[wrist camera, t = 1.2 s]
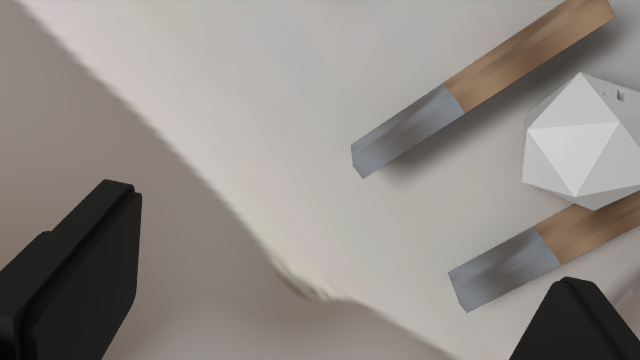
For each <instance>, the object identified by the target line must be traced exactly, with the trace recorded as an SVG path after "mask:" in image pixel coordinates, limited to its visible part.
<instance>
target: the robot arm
mask: <svg viewBox="0 0 640 360" xmlns="http://www.w3.org/2000/svg"><path fill="white" fill-rule="evenodd" d="M141 209H142V195H141V194H140V193H136V192H135V189H134V186H133V185H131V184H126V183H122V182H117V181H112V180H107V179H105V180H103V181H102V182H101V183H100V184H99V185H98V186H97V187H96V188H95V189H94V190H93V191H92V192H91V193H90V194H88V196H86V197H85V198H84V200H82V201H81V202H80V203H79V204H78V205H77V206H76V207H75V208H74V209H73V210H72V211H71V212H70V213H69V214H68V215H67V216H66V217H65V218H64V219H63V220H62V221H61V222H60V223H59V224H58V225H57V226H56V227H55V228H54V229H53V230H52V231H45V232H42V233H41V234H40V235H38V236H37V237H36V238H35V239H34V240H33V241H32V242H31V243H30V244H29V245H27V246H26V247H25V248H24V249H23V250H22V251H21V252H20V253H19V254H18V255H17V256H16V257H15V258H14V259H13V260H12V261H11V262H10V263H9V264H8V265H7V266H6V267H4V268H3V269H2V270H1V271H0V360H101V359H102V357H103V355H104V354H105V352H106V350H107V348H108V347H109V345H110V343H111V342H112V340H113V338H114V336H115V334H116V333H117V331H118V329H119V327H120V326H121V324H122V322H123V321H124V319H125V317H126V315H127V313H128V312H129V310H130V308H131V306H132V304H133V301H134V298H135V295H136V287H137V270H138V256H139V241H140V225H141ZM509 360H640V341H639V339H638V338H637V337H636V336H635V334H634V333H633V332H632V330H631V329H630V328H629V327H628V325H627V324H626V323H625V321H624V320H623V319H622V318H621V316H620V315H619V314H618V312H617V311H616V310H615V309H614V307H613V306H612V305H611V303H610V302H609V301H608V300H607V298H606V297H605V296H604V294H603V293H602V292H601V291H600V289H599V288H598V287H597V285H595V284H594V283H593V282H590V281H586V280H581V279H577V278H572V277H564V278H562V279H561V280H560V281H556V282H554V283H553V284H552V285H551V287H550V289H549V290H548V292H547V294H546V296H545V297H544V299H543V301H542V303H541V304H540V306H539V308H538V310H537V311H536V313H535V315H534V317H533V318H532V320H531V322H530V324H529V325H528V327H527V329H526V331H525V333H524V334H523V336H522V338H521V340H520V341H519V343H518V345H517V347H516V348H515V350H514V352H513V354H512V355H511V357H510V359H509Z"/></svg>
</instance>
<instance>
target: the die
mask: <svg viewBox="0 0 640 360" xmlns="http://www.w3.org/2000/svg"><path fill="white" fill-rule="evenodd" d="M521 182H523V183H525V184H528V185H530V186H533V187H535V188H538V189H540V190H543V191H545V192H548V193H550V194H553V195H555V196H558V197H560V198H563V199H565V200H568V201H570V202H573V203H575V204H578V205H580V206H583V207H585V208H588V209H590V210H593V211H594V210H597V209H599V208H601V207H603V206H606V205H608V204H610V203H612V202H615V201H617V200H619V199H621V198H623V197H626V196H628V195H630V194H632V193H635V192H637V191H639V190H640V92H637V91H634V90H631V89H628V88H625V87H622V86H619V85H616V84H613V83H610V82H607V81H604V80H601V79H598V78H595V77H592V76H590V75H587V74H584V73H581V72H579V73H578V74H577V75H575V76H574V77H573V78H572V79H570V80H569V81H568V82H566V83H565V84H564V85H563V86H561V87H560V88H559V89H557V90H556V91H555V92H554V93H552V94H551V95H550V96H549V97H547V98H546V99H545V100H543V101H542V102H541V103H540V104H538V105H537V106H536V107H535V108H533V109H532V110H531V111H529V112H528V113H527V114H526V115H525V129H524V146H523V163H522V180H521Z"/></svg>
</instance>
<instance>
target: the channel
mask: <svg viewBox="0 0 640 360" xmlns="http://www.w3.org/2000/svg"><path fill="white" fill-rule="evenodd" d="M614 17H615V15H614V13H613V10H612V8H611V6H610V4H609V2H608V0H566V1H564V2H563V3H561V4H560V5H558V6H557V7H556V8H554V9H553V10H551V11H550V12H548V13H547V14H545V15H544V16H542V17H541V18H539V19H538V20H536V21H535V22H533V23H532V24H530V25H529V26H527V27H526V28H524V29H523V30H521V31H520V32H518V33H517V34H515V35H514V36H512V37H511V38H509V39H508V40H506V41H505V42H504V43H502V44H501V45H499V46H498V47H496V48H495V49H493V50H492V51H490V52H489V53H487V54H486V55H484V56H483V57H481V58H480V59H478V60H477V61H475V62H474V63H472V64H471V65H469V66H468V67H466V68H465V69H463V70H462V71H460V72H459V73H457V74H456V75H454V76H453V77H451V78H450V79H449V80H447V81H446V82H444V83H443V84H441V85H440V86H438V87H437V88H435V89H434V90H432V91H431V92H429V93H428V94H426V95H425V96H423V97H422V98H420V99H419V100H417V101H416V102H414V103H413V104H411V105H410V106H408V107H407V108H405V109H404V110H402V111H401V112H399V113H398V114H397V115H395V116H394V117H392V118H391V119H389V120H388V121H386V122H385V123H383V124H382V125H380V126H379V127H377V128H376V129H374V130H373V131H371V132H370V133H368V134H367V135H365V136H364V137H362V138H361V139H359V140H358V141H356V142H355V143H353V144H352V145H351V151H352V160H353V167H354V168H355V169H356V171H357V172H358V173H359V174H360V176H361V177H362V178H363V179H364V178H365V177H367V176H369V175H370V174H372V173H373V172H375V171H376V170H378V169H379V168H381V167H383V166H384V165H386V164H387V163H389V162H390V161H392V160H393V159H395V158H397V157H398V156H400V155H401V154H403V153H404V152H406V151H407V150H409V149H410V148H412V147H414V146H415V145H417V144H418V143H420V142H421V141H423V140H424V139H426V138H428V137H429V136H431V135H432V134H434V133H435V132H437V131H438V130H440V129H442V128H443V127H445V126H446V125H448V124H449V123H451V122H452V121H454V120H456V119H457V118H459V117H460V116H462V115H463V114H465V113H466V112H468V111H470V110H471V109H473V108H474V107H476V106H477V105H479V104H480V103H482V102H484V101H485V100H487V99H488V98H490V97H491V96H493V95H494V94H496V93H498V92H499V91H501V90H502V89H504V88H505V87H507V86H508V85H510V84H512V83H513V82H515V81H516V80H518V79H519V78H521V77H522V76H524V75H526V74H527V73H529V72H530V71H532V70H533V69H535V68H536V67H538V66H540V65H541V64H543V63H544V62H546V61H547V60H549V59H550V58H552V57H554V56H555V55H557V54H558V53H560V52H561V51H563V50H564V49H566V48H568V47H569V46H571V45H572V44H574V43H575V42H577V41H578V40H580V39H582V38H583V37H585V36H586V35H588V34H589V33H591V32H592V31H594V30H596V29H597V28H599V27H600V26H602V25H603V24H605V23H606V22H608V21H610V20H611V19H613V18H614ZM639 225H640V190H639V191H637V192H635V193H632V194H630V195H628V196H626V197H623V198H621V199H619V200H617V201H615V202H612V203H610V204H608V205H606V206H603V207H601V208H599V209H597V210H594V211H593V210H590V209H588V208H585V207H583V206H580V205H578V204H574V205H572V206H570V207H568V208H566V209H564V210H563V211H561V212H559V213H557V214H555V215H553V216H552V217H550V218H548V219H546V220H544V221H542V222H540V223H539V224H537V225H535V226H533V227H531V228H529V229H528V230H526V231H524V232H522V233H520V234H518V235H517V236H515V237H513V238H511V239H509V240H507V241H506V242H504V243H502V244H500V245H498V246H496V247H495V248H493V249H491V250H489V251H487V252H485V253H484V254H482V255H480V256H478V257H476V258H474V259H472V260H471V261H469V262H467V263H465V264H463V265H461V266H460V267H458V268H456V269H454V270H452V271H450V272H449V273H448V274H449V277H450V279H451V282H452V285H453V287H454V290H455V293H456V296H457V298H458V301H459V304H460V305H461V306H462V307H463V309H464V310H465V311H466V313H468V312H470V311H472V310H474V309H476V308H478V307H480V306H482V305H484V304H486V303H488V302H490V301H492V300H494V299H496V298H498V297H500V296H502V295H504V294H506V293H507V292H509V291H511V290H513V289H515V288H517V287H519V286H521V285H523V284H525V283H527V282H529V281H531V280H533V279H535V278H537V277H539V276H541V275H543V274H545V273H547V272H549V271H551V270H553V269H554V268H556V267H558V266H560V265H562V264H564V263H566V262H568V261H570V260H572V259H574V258H576V257H578V256H580V255H582V254H584V253H586V252H588V251H590V250H592V249H594V248H596V247H598V246H599V245H601V244H603V243H605V242H607V241H609V240H611V239H613V238H615V237H617V236H619V235H621V234H623V233H625V232H627V231H629V230H631V229H633V228H635V227H637V226H639Z"/></svg>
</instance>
